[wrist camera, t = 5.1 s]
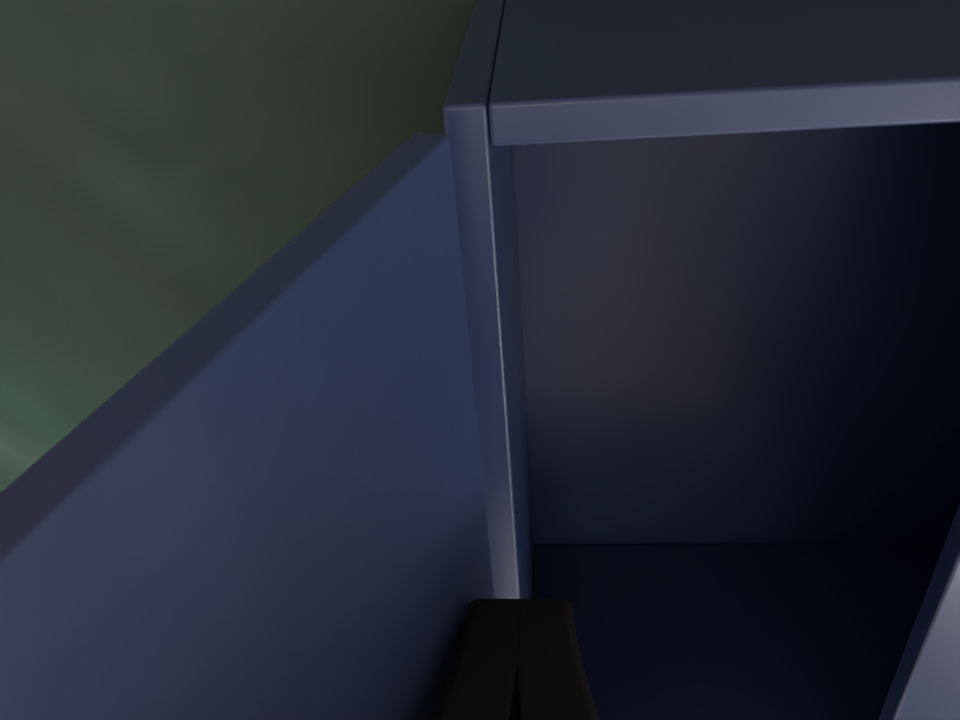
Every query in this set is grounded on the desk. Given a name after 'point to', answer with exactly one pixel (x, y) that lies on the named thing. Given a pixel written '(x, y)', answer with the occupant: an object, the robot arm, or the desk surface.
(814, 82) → the carton
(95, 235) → the desk surface
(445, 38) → the desk surface
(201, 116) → the desk surface
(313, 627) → the flap
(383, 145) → the desk surface
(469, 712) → the robot arm
